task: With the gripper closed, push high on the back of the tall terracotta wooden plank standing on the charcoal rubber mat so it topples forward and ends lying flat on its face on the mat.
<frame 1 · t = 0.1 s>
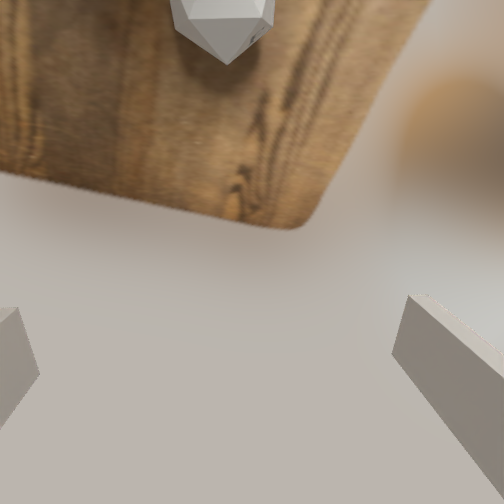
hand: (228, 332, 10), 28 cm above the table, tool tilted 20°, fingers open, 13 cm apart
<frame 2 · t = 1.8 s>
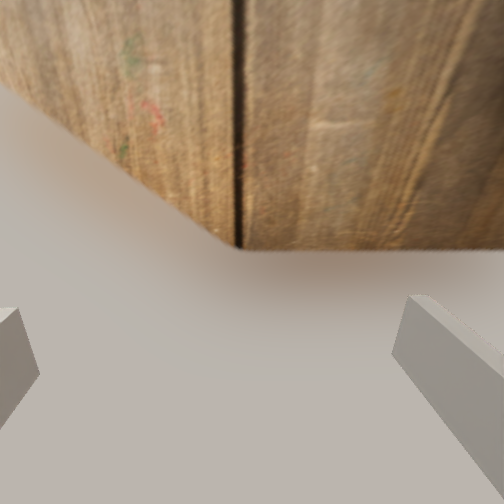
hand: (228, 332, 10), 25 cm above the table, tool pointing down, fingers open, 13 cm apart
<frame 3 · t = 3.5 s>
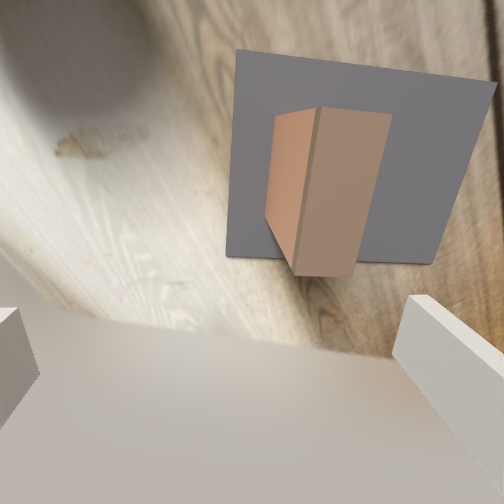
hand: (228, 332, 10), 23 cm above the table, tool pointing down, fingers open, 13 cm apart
mat: (349, 174, 32), on the table
plank: (288, 170, 30), point 1 cm above the table, touching mat
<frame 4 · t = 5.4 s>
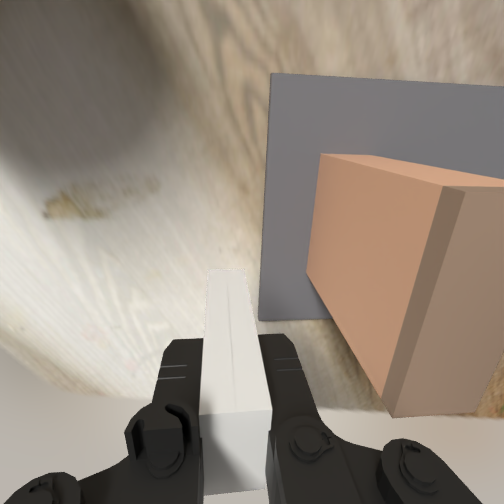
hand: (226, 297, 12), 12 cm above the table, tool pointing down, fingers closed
mat: (411, 216, 25), on the table
plank: (336, 218, 24), point 1 cm above the table, touching mat
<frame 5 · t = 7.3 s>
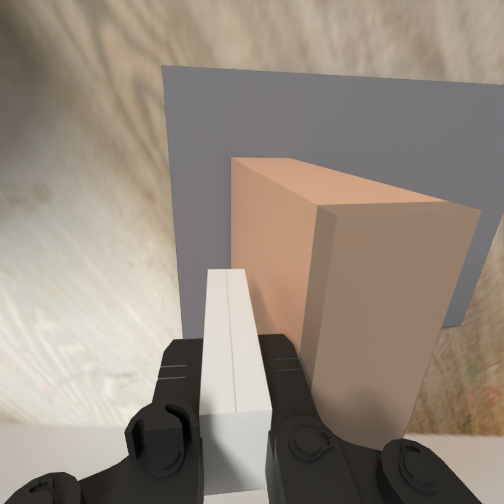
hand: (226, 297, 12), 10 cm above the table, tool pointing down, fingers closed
mat: (344, 225, 23), on the table
plank: (258, 229, 21), point 1 cm above the table, tilted 7°, touching mat
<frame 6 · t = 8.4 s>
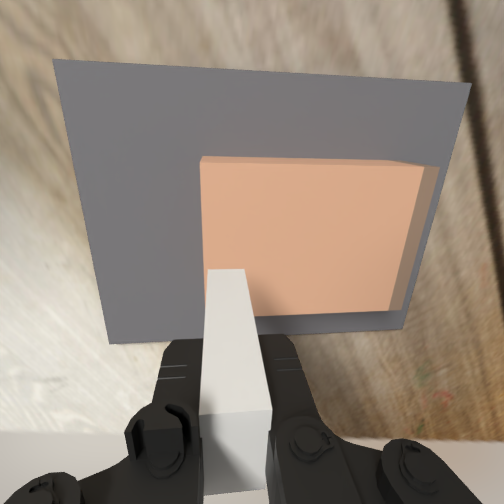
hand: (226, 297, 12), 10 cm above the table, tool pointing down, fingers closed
mat: (269, 225, 22), on the table
plank: (204, 237, 19), point 3 cm above the table, tilted 90°, touching mat
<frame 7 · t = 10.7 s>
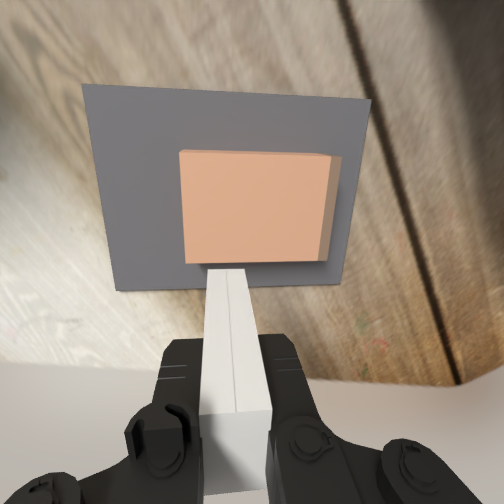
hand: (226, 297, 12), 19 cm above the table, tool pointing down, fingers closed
mat: (234, 200, 30), on the table
plank: (184, 206, 27), point 3 cm above the table, tilted 90°, touching mat
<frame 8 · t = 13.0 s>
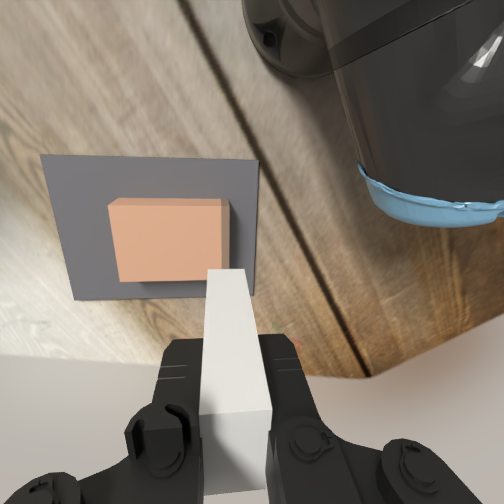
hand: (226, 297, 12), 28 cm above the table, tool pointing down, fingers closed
mat: (161, 233, 40), on the table
plank: (119, 240, 37), point 3 cm above the table, tilted 90°, touching mat
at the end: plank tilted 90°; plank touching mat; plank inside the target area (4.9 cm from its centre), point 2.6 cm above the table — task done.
